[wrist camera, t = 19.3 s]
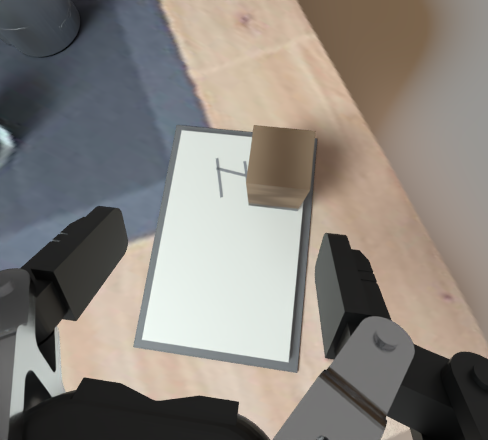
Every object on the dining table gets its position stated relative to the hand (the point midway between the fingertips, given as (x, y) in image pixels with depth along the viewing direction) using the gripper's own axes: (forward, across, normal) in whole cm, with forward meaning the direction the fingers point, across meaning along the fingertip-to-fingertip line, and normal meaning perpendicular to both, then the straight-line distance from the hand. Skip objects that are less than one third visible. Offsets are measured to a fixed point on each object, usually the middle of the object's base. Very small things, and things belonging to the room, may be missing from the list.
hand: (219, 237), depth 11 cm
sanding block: (+18, -3, +6) cm, 19 cm away
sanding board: (+14, +1, +11) cm, 18 cm away
